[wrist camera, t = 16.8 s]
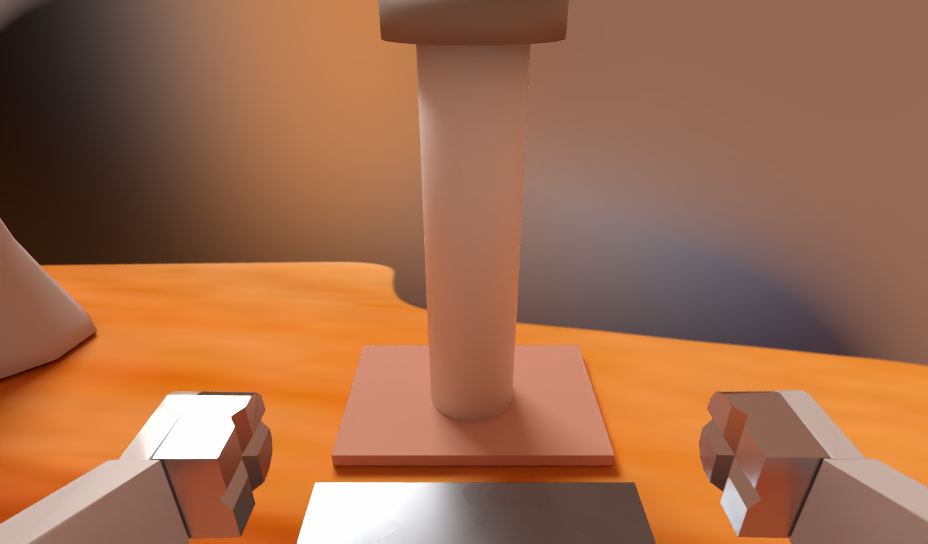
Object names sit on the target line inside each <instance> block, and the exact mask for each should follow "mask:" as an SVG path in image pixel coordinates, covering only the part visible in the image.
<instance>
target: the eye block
mask: <svg viewBox="0 0 928 544" xmlns="http://www.w3.org/2000/svg"><path fill="white" fill-rule="evenodd" d="M297 544H656V543H655V540H654V537H653V535H652V532H651V529H650V526H649V523H648V520H647V517H646V514H645V512H644V509H643V506H642V503H641V500H640V497H639V494H638V492H637V489H636V486H635V483H315V486H314V489H313V492H312V496H311V499H310V502H309V505H308V509H307V512H306V515H305V518H304V522H303V525H302V528H301V531H300V535H299V538H298V541H297Z"/></svg>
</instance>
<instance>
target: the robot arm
mask: <svg viewBox="0 0 928 544" xmlns="http://www.w3.org/2000/svg"><path fill="white" fill-rule="evenodd" d="M708 411H709V413H710V414H711V416H712V418H713V419H712V420H711V421H710V422H709V423H708V424H706V425H705V426H704V427H703V428H702V432H701V437H700V441H699V446H700V458H701V462H702V465H703V469H704V471H705V473H706V475H707V477H708V479H709V481H710V482H711V483H712V484H714V485H715V486H716V487H718V488H719V489H721V490H722V491H723V496H722V499H721V502H720V503H721V505H722V507H723V509H724V511H725V513H726V515H727V517H728V519H729V521H730V523H731V524H732V526H733V528H734V530H735V532H736V534H737V536H738V537H763V538H790V540H789V541H790V542H791V543H792V544H928V487H926V486H924V485H923V484H921V483H919V482H917V481H915V480H913V479H912V478H910V477H908V476H906V475H904V474H902V473H901V472H899V471H897V470H895V469H893V468H891V467H890V466H888V465H886V464H884V463H882V462H880V461H879V460H877V459H866V458H865V457H864V456H863V455H862V453H861V452H860V451H859V450H858V449H857V448H856V447H855V446H854V444H853V443H852V442H851V441H850V440H849V439H848V438H847V436H846V435H845V434H844V433H843V432H842V431H841V430H840V428H839V427H838V426H837V425H836V424H835V423H834V422H833V420H832V419H831V418H830V417H829V416H828V415H827V414H826V412H825V411H824V410H823V409H822V408H821V407H820V406H819V404H818V403H817V402H816V401H815V400H814V399H813V398H812V396H811V395H810V394H808V393H806V392H804V391H802V390H779V391H771V392H770V391H745V392H715V393H714V394H713V396H712V397H711V399H710V402H709V406H708ZM264 412H265V407H264V403H263V400H262V396H261V395H259V394H258V393H253V392H205V391H202V392H181V391H175V392H173V393H171V394H169V395H167V396H166V397H165V398H164V400H163V401H162V402H161V404H160V405H159V406H158V408H157V409H156V410H155V412H154V413H153V414H152V415H151V417H150V418H149V419H148V421H147V422H146V423H145V425H144V426H143V427H142V429H141V430H140V431H139V433H138V434H137V435H136V437H135V438H134V439H133V441H132V442H131V443H130V444H129V446H128V447H127V448H126V450H125V451H124V452H123V454H122V455H121V456H120V458H119V459H118V460H108V461H106V462H105V463H103V464H101V465H99V466H98V467H96V468H94V469H93V470H91V471H89V472H88V473H86V474H84V475H83V476H81V477H79V478H78V479H76V480H74V481H72V482H71V483H69V484H67V485H66V486H64V487H62V488H61V489H59V490H57V491H56V492H54V493H52V494H51V495H49V496H47V497H45V498H44V499H42V500H40V501H39V502H37V503H35V504H34V505H32V506H30V507H29V508H27V509H25V510H23V511H22V512H20V513H18V514H17V515H15V516H13V517H12V518H10V519H8V520H7V521H5V522H3V523H2V524H0V544H188V543H189V542H190V540H189V539H202V538H235V537H241V536H242V533H243V531H244V529H245V526H246V524H247V521H248V519H249V517H250V514H251V512H252V510H253V507H254V505H255V501H254V497H253V493H252V491H253V490H255V489H256V488H257V487H258V486H260V485H261V484H262V483H263V482H264V481H265V478H266V476H267V473H268V470H269V467H270V462H271V456H272V438H271V433H270V429H269V428H268V427H267V426H266V425H265V424H264V423H263V422H261V421H260V420H261V418H262V416H263V414H264Z"/></svg>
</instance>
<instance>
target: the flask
mask: <svg viewBox="0 0 928 544" xmlns="http://www.w3.org/2000/svg"><path fill="white" fill-rule="evenodd" d="M96 331H97V329H96V327H95V326H94V324H93V322H92V320H91V319H90V317H89V315H88V314H87V312H86V311H85V310H84V309H83V308H82V307H81V306H80V305H79V304H78V303H77V301H75V300H74V299H73V298H72V297H71V296H70V295H69V294H68V293H67V292H66V291H65V290H64V289H63V288H62V287H61V286H60V285H59V284H58V283H57V282H56V281H55V280H54V279H53V278H52V277H51V276H50V275H49V274H48V273H47V272H46V271H45V270H44V269H43V268H42V267H41V266H40V265H39V264H38V263H37V262H36V261H35V260H34V259H33V258H32V257H31V256H30V255H29V254H28V253H27V251H26V250H24V248H23V247H22V246H21V245H20V244H19V243H18V242H17V241H16V240H15V239H14V238H13V236H12V235H11V233H10V232H9V230H8V229H7V228H6V226H5V225H4V223H3V222H2V221H1V219H0V379H2V378H5V377H7V376H10V375H13V374H16V373H19V372H22V371H25V370H27V369H30V368H33V367H36V366H39V365H42V364H45V363H47V362H50V361H53V360H56V359H58V358H59V357H61V356H62V355H63V354H65V353H66V352H68V351H69V350H70V349H72V348H73V347H75V346H76V345H77V344H79V343H80V342H82V341H83V340H85V339H86V338H87V337H89V336H90V335H92V334H93V333H94V332H96Z"/></svg>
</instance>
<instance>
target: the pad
mask: <svg viewBox="0 0 928 544" xmlns="http://www.w3.org/2000/svg"><path fill="white" fill-rule="evenodd" d="M332 460H333V466H604V465H613V461H614V452H613V449H612V446H611V443H610V440H609V437H608V434H607V431H606V428H605V425H604V422H603V419H602V416H601V413H600V410H599V406H598V403H597V400H596V397H595V394H594V391H593V388H592V385H591V382H590V379H589V376H588V373H587V370H586V367H585V364H584V361H583V357H582V354H581V351H580V348H579V345H515V354H514V374H513V394H512V401H511V403H510V405H509V407H508V408H507V409H506V410H505V411H504V412H503V413H501V414H500V415H498V416H496V417H494V418H492V419H489V420H485V421H479V422H465V421H459V420H455V419H452V418H450V417H447V416H445V415H444V414H442V413H441V412H440V411H439V410H438V409H437V408H436V407H435V406H434V404H433V402H432V399H431V387H430V363H429V345H364V346H363V349H362V353H361V356H360V360H359V363H358V367H357V370H356V374H355V377H354V380H353V384H352V387H351V391H350V394H349V398H348V401H347V405H346V408H345V411H344V415H343V418H342V422H341V425H340V429H339V432H338V436H337V439H336V442H335V446H334V449H333V453H332Z"/></svg>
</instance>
